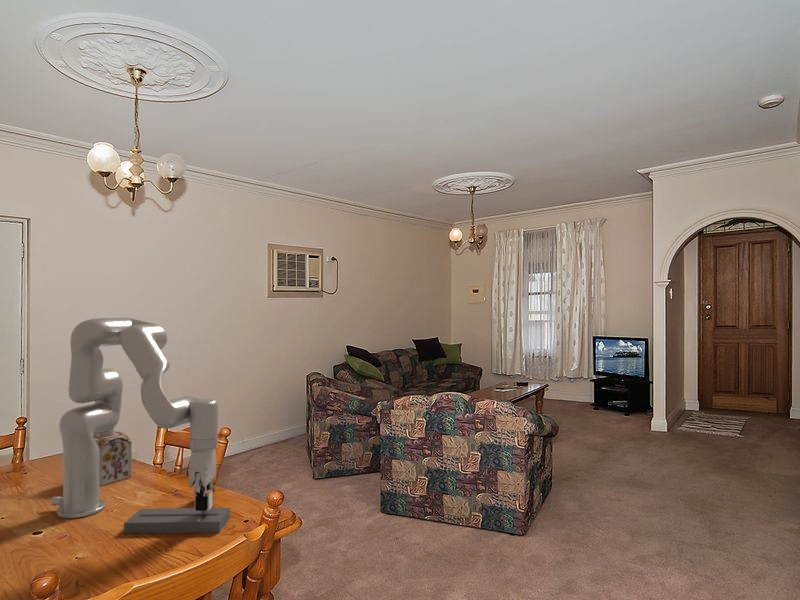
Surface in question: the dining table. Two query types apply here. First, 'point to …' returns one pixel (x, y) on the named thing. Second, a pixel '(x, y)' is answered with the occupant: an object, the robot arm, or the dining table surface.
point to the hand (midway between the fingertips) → (203, 506)
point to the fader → (210, 501)
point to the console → (177, 521)
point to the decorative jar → (114, 456)
